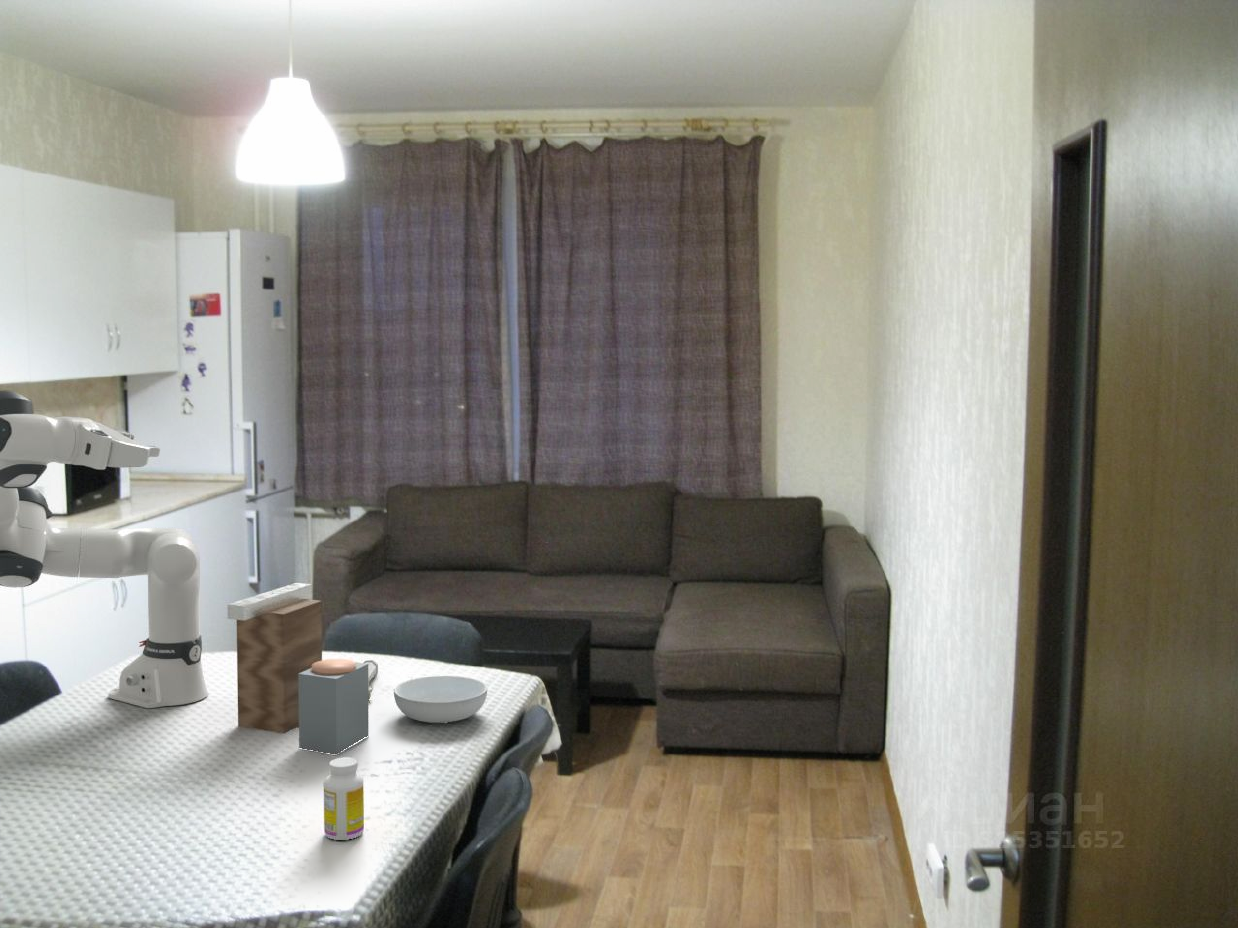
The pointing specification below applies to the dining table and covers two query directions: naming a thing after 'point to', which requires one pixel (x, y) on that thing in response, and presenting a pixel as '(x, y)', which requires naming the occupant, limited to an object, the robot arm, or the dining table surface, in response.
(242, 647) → the stand
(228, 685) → the dining table surface
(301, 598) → the white bar
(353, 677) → the low block
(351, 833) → the supplement bottle
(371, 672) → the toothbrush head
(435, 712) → the serving bowl
